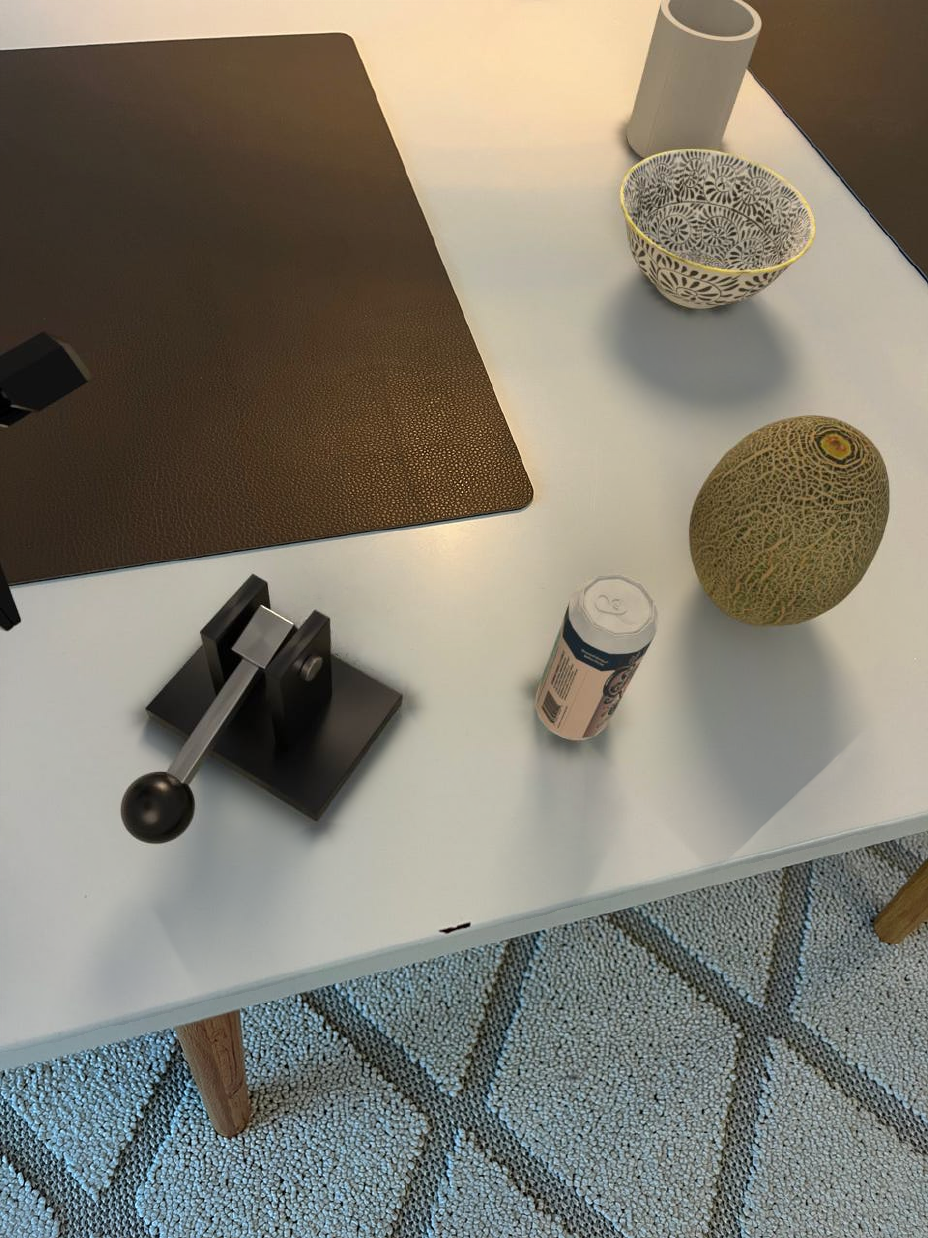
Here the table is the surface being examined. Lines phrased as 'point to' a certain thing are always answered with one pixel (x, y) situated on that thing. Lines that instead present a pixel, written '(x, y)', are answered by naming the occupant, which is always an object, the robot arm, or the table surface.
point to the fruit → (790, 520)
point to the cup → (692, 75)
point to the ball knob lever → (202, 738)
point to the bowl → (712, 225)
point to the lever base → (281, 706)
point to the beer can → (595, 655)
